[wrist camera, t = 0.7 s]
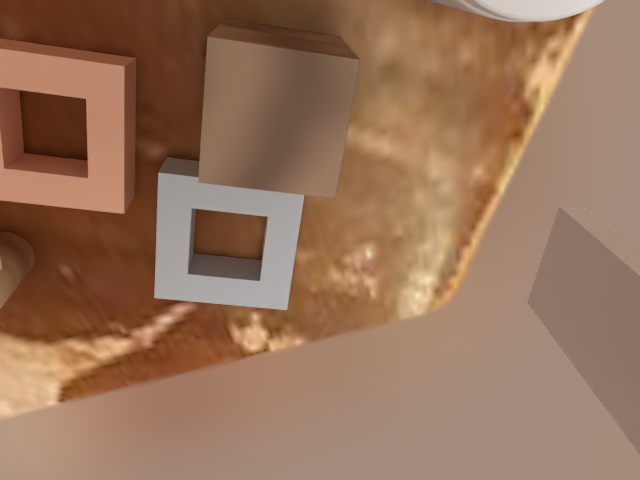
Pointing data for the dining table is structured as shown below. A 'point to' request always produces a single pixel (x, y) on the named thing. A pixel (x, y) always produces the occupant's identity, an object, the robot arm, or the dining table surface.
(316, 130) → the brown rectangular block
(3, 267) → the peg
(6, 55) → the socket terracotta
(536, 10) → the supplement tub
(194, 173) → the socket grey
